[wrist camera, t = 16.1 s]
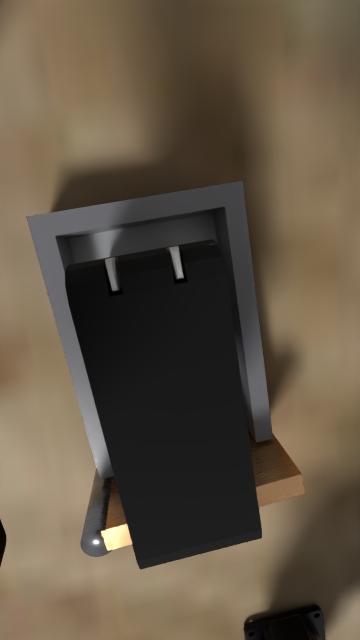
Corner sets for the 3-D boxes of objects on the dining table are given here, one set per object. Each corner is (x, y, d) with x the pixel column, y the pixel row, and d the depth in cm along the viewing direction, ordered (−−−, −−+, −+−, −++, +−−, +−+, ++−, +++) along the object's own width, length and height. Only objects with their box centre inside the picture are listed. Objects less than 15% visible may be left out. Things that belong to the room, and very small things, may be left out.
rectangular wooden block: (101, 478, 20) (86, 560, 15) (94, 457, 20) (76, 534, 14) (263, 434, 21) (305, 497, 15) (259, 413, 20) (301, 470, 15)
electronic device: (141, 417, 19) (139, 585, 10) (104, 257, 17) (53, 267, 7) (206, 403, 20) (267, 552, 10) (178, 244, 17) (225, 236, 8)
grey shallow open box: (254, 412, 21) (272, 438, 18) (106, 446, 20) (99, 479, 17) (225, 192, 17) (242, 180, 14) (46, 222, 17) (26, 216, 14)
